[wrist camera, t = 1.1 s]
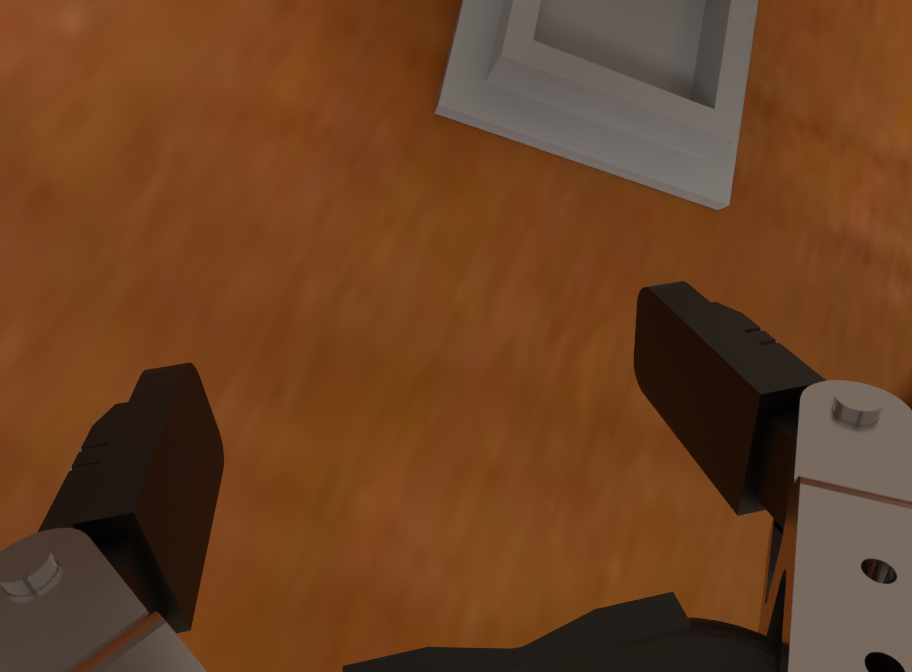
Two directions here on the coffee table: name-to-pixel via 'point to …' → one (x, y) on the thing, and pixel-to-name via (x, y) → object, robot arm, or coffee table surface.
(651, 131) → the candle dish
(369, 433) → the coffee table surface
